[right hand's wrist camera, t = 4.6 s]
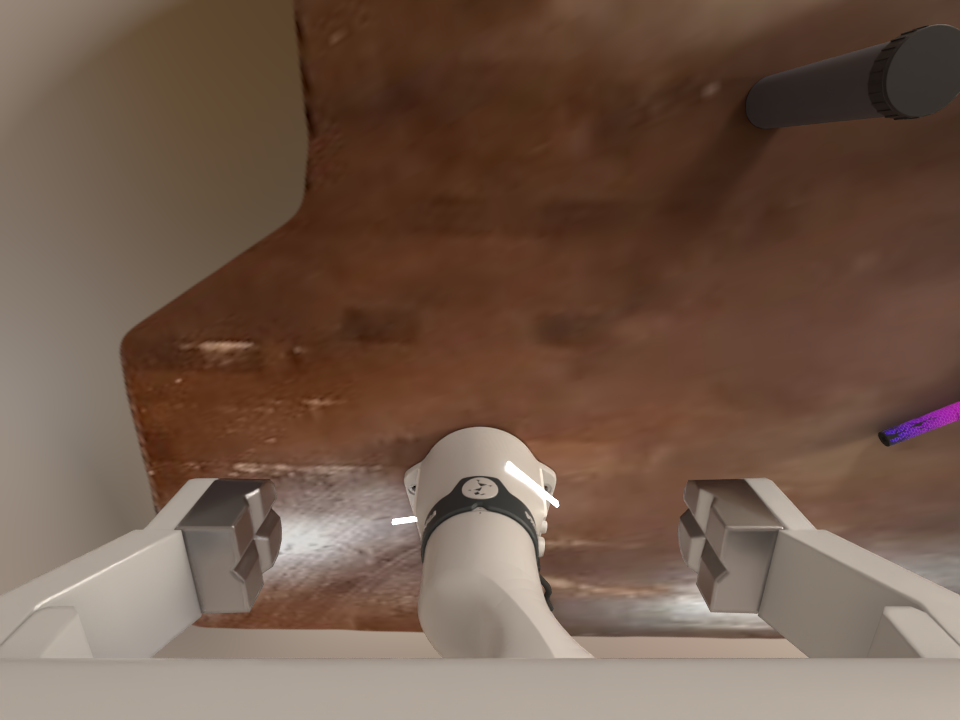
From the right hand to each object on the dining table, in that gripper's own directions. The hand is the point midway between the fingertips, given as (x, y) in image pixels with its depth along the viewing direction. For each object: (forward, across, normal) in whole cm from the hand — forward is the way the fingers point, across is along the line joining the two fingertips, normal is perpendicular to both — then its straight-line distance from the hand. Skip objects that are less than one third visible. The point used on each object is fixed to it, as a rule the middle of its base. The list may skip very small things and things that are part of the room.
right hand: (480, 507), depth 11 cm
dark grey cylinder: (+48, +28, +12) cm, 57 cm away
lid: (+29, +28, +12) cm, 42 cm away
